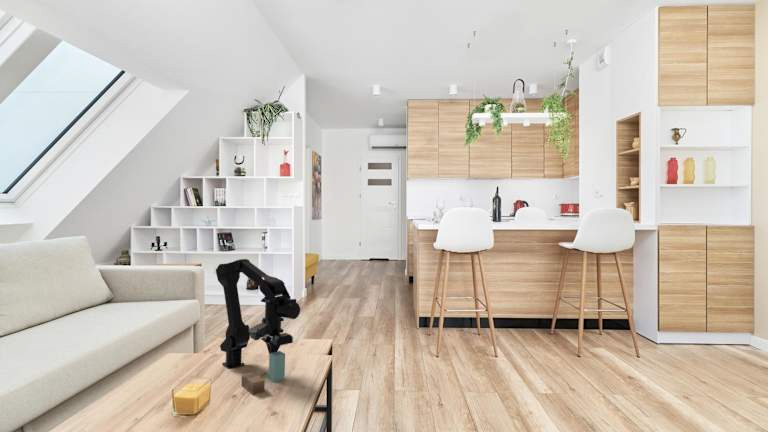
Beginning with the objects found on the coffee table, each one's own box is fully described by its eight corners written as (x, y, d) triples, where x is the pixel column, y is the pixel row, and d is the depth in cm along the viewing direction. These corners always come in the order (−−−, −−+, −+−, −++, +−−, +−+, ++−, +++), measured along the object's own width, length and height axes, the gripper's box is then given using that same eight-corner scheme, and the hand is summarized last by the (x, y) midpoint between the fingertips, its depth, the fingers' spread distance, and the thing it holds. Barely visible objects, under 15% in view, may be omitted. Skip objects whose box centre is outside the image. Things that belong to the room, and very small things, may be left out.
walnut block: (241, 374, 136) (252, 383, 130) (253, 371, 139) (264, 380, 132) (241, 386, 136) (252, 395, 130) (252, 383, 139) (264, 392, 132)
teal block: (268, 378, 143) (269, 353, 143) (279, 376, 146) (279, 350, 146) (274, 382, 140) (274, 356, 140) (284, 379, 143) (285, 353, 143)
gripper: (240, 313, 147) (239, 356, 147) (264, 323, 134) (263, 371, 134) (268, 309, 155) (267, 350, 155) (294, 318, 141) (293, 363, 141)
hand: (272, 358), depth 146 cm, fingers closed
